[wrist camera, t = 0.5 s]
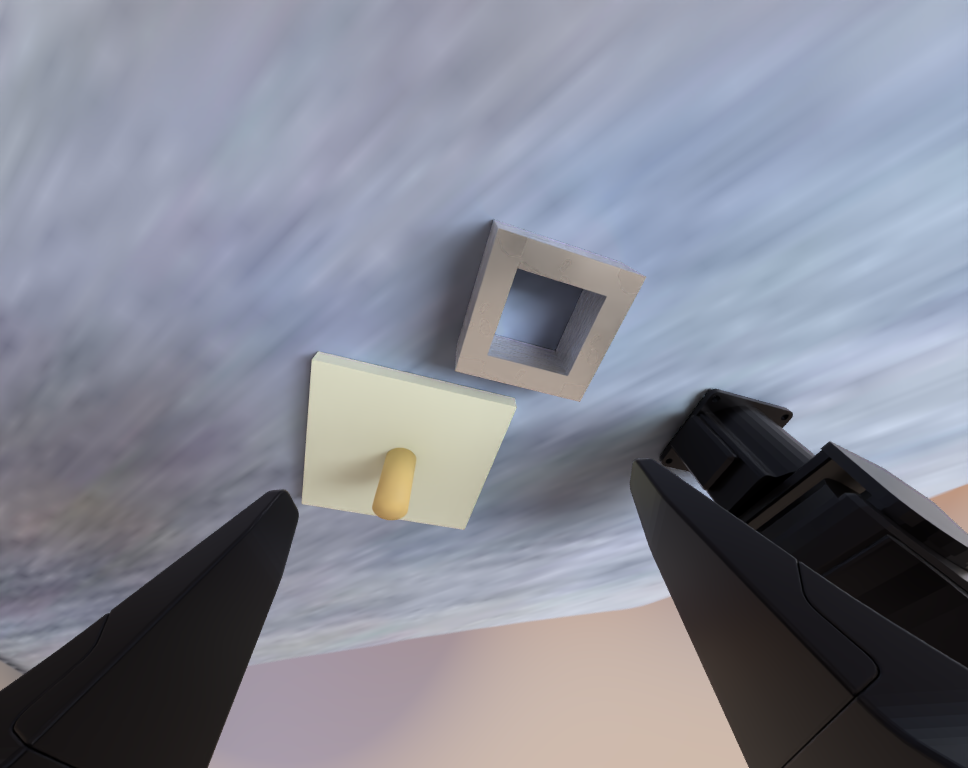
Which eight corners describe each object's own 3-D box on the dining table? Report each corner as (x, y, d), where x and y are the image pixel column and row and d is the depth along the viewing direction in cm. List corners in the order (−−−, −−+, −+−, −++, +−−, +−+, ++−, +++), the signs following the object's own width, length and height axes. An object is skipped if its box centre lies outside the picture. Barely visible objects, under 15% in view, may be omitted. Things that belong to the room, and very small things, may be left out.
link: (621, 261, 18) (646, 276, 16) (566, 374, 22) (579, 401, 19) (493, 219, 17) (498, 228, 15) (456, 346, 21) (454, 371, 18)
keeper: (514, 398, 23) (526, 451, 18) (464, 518, 28) (464, 580, 24) (318, 351, 20) (279, 399, 16) (307, 492, 26) (275, 556, 22)
